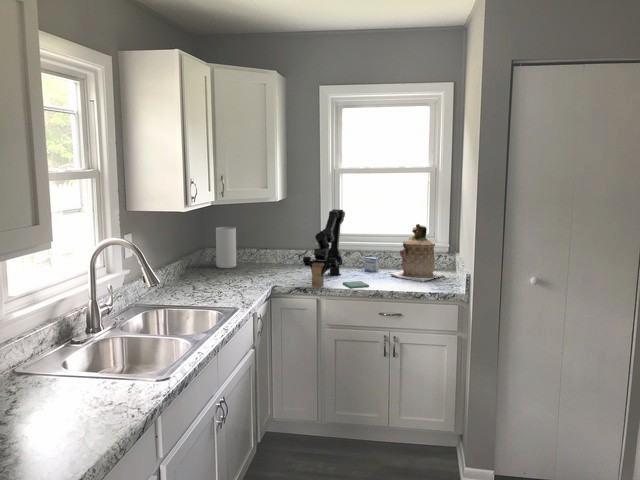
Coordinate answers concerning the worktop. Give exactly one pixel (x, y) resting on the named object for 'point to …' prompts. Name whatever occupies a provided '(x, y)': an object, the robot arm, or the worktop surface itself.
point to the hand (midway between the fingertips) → (316, 274)
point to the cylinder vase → (226, 247)
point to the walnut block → (317, 274)
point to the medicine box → (371, 264)
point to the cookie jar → (418, 257)
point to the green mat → (355, 284)
